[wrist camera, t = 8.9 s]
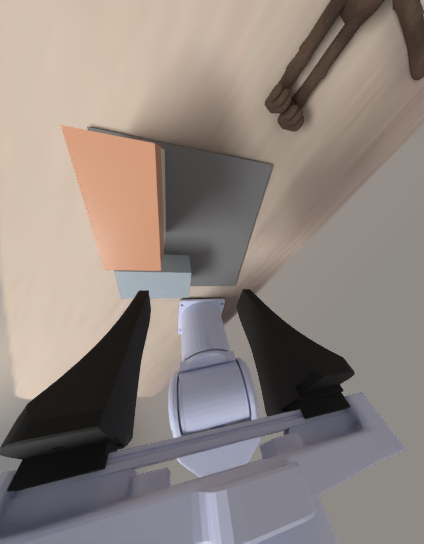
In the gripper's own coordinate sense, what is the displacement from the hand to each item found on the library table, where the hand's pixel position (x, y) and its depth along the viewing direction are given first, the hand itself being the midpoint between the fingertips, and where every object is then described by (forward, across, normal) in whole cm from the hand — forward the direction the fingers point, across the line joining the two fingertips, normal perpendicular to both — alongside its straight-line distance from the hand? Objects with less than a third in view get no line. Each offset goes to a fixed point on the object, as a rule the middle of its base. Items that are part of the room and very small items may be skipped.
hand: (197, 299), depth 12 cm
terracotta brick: (+6, +5, -5) cm, 9 cm away
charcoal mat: (+10, 0, -1) cm, 10 cm away
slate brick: (+10, +4, +4) cm, 12 cm away
